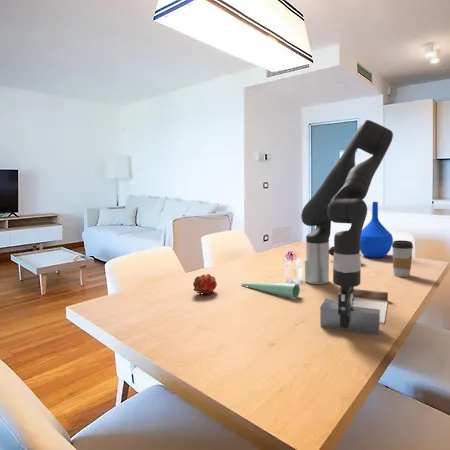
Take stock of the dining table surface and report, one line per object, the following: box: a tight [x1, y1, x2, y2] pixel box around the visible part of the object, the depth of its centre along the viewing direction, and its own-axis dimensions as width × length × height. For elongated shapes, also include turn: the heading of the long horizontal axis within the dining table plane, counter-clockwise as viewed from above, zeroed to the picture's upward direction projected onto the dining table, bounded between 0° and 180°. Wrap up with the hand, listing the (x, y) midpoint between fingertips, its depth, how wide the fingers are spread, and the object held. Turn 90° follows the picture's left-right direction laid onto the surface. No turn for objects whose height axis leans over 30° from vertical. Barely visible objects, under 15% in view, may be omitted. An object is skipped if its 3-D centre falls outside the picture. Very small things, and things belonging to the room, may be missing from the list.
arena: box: [336, 288, 389, 301], centre depth 122 cm, size 15×22×3 cm, turn 154°
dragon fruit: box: [192, 273, 218, 295], centre depth 143 cm, size 8×8×12 cm
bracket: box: [319, 298, 381, 336], centre depth 108 cm, size 16×8×6 cm, turn 64°
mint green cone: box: [241, 282, 301, 300], centre depth 144 cm, size 5×6×27 cm
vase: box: [360, 201, 394, 259], centre depth 199 cm, size 18×18×30 cm
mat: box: [351, 297, 389, 324], centre depth 121 cm, size 14×21×1 cm, turn 154°
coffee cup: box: [391, 239, 414, 278], centre depth 160 cm, size 8×8×15 cm
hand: (346, 322), depth 107 cm, fingers open, 7 cm apart
